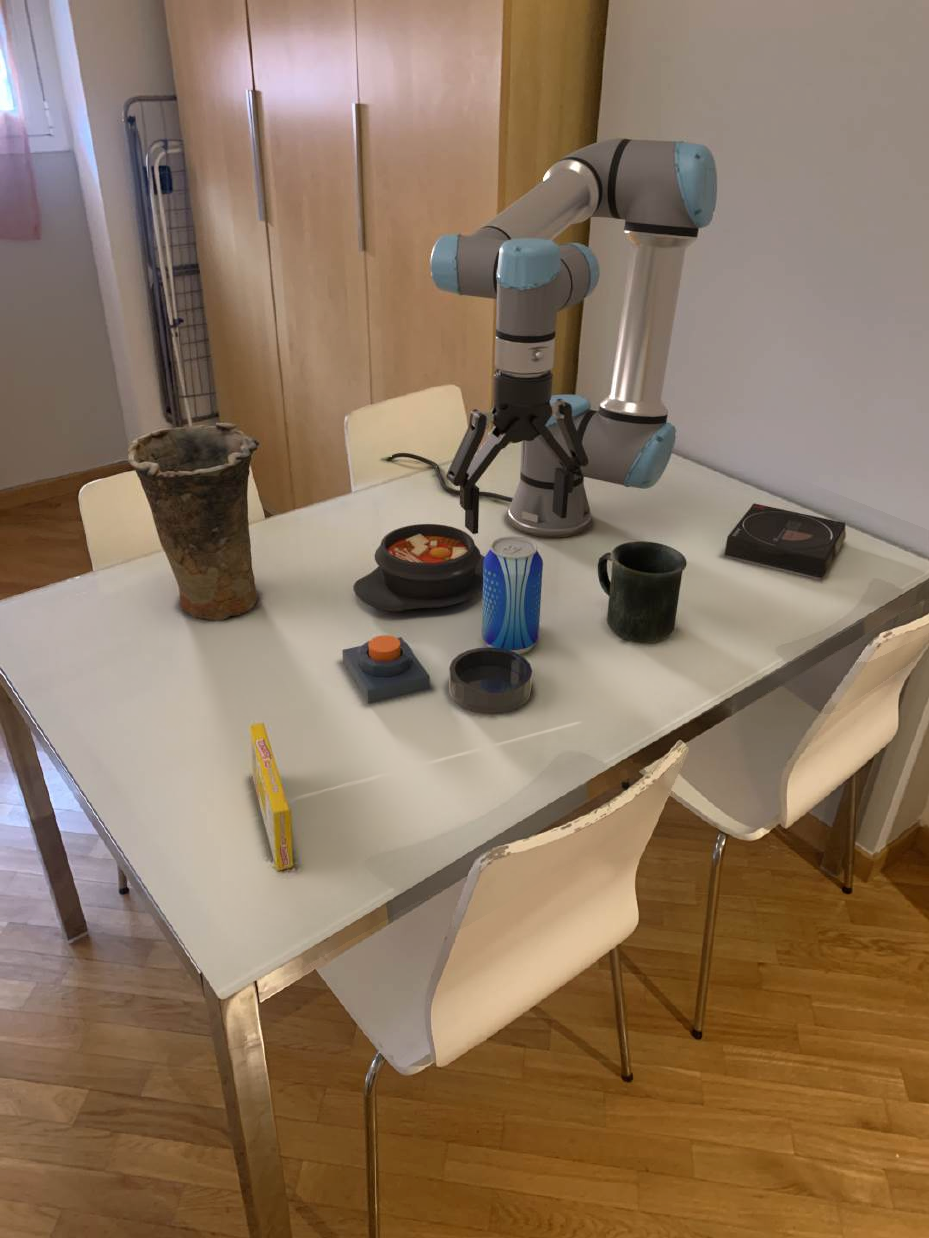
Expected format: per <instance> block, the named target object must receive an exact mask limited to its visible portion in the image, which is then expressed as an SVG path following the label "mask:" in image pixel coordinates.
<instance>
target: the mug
mask: <svg viewBox="0 0 929 1238" xmlns="http://www.w3.org/2000/svg"><path fill="white" fill-rule="evenodd" d="M608 561H610V562H612V566H611V574H610V575H611V576H609V571H608ZM687 563H688V562H687V559H686V557H685V556H684V555H683V553H681V552H680V551H679V550H677V549H676V548H674V547H672V546H669V545H665V544H663V543H659V542H653V541H646V540H645V541H643V540H641V541H640V540H639V541H627V542H624V543H621V544H619V545H617V546H615V547H613V549H612V550H611V551H610V552H606V553H604V554H602V555H601V556H600V557H599V558H598V562H597V576H598V582H599V585H600V586H601V589H602V591H603V592H604V593H605V594H606V596H608V605H607V613H606V623H607V625H608V627H609V628H610V630H611V631H612V633H614V634H615V635H617V636H619V637H620V638H622V639H625V640H628V641H632V642H636V643H644V644H645V643H657V642H661V641H664V640H666V639H667V638H669V637H670V636H671V635H672V634H673V633H674V631H675V626H676V619H677V613H678V604H679V599H680V591H681V584H682V577H683V571H685V569H686V567H687Z"/></svg>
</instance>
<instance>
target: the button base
mask: <svg viewBox="0 0 929 1238" xmlns="http://www.w3.org/2000/svg"><path fill="white" fill-rule="evenodd" d="M396 638H397V639H399V641H400V644H401V655H400V657H399V658H397V659H396V660H393V661H388V662H382V661H375V660H373V659H371V658H370V656H369V641H370V640H368V641H366V642H364V643H363V644H361V645H359V646H354V647H349V648H344V649H342V650H341V652H342V653H341V654H342V664H343V665H344V667H345V668H346V670H347V671H348V673H349V675H350V677H351V679H352V680H353V681H354V684H355V685H356V687H357V688H358V690H359V691H360V693H361V694H362V696H363V698H364V699H365V701H366V702H367V704H372V703H376V702H380V701H385V700H389V699H393V698H398V697H401V696H406V695H411V694H414V693H417V692H422V691H426V690H427V691H428V690H431V676H430V674H429V673H428V671H427V670H426V669H425V668H424V666H423V664H422V663H421V662H420V661H419V659H418V658H417V657H416V655H415V654H414V652H413V650H412V648H411V647H410V645H409V644H408V643H407V642H406V641H405V640H404V639H403V637H401V636H400V637H396Z"/></svg>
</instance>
